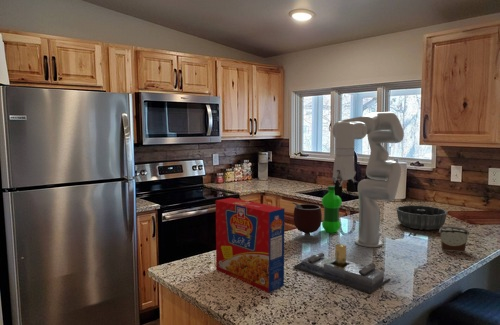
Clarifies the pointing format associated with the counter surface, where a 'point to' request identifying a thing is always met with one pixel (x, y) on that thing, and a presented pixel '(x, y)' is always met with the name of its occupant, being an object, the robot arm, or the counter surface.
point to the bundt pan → (421, 217)
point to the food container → (453, 238)
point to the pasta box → (250, 242)
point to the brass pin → (340, 255)
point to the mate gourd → (307, 222)
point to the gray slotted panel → (345, 273)
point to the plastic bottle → (331, 211)
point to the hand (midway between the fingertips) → (344, 193)
